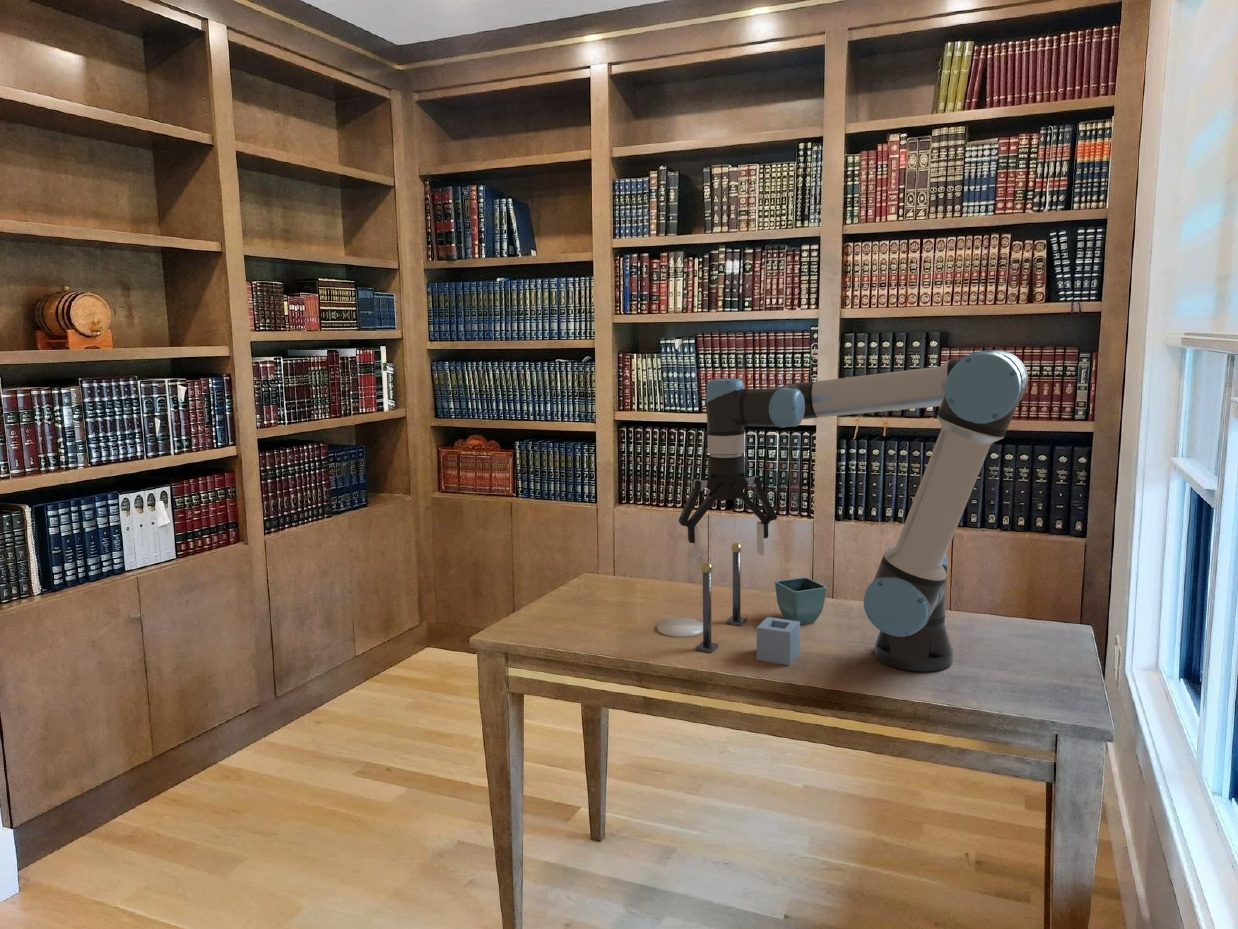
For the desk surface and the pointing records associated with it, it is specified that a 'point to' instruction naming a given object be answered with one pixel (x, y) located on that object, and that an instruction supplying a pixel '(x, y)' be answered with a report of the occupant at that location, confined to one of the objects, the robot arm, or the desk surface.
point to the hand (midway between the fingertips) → (728, 556)
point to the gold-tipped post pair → (733, 620)
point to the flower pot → (800, 599)
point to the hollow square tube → (778, 641)
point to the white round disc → (680, 627)
